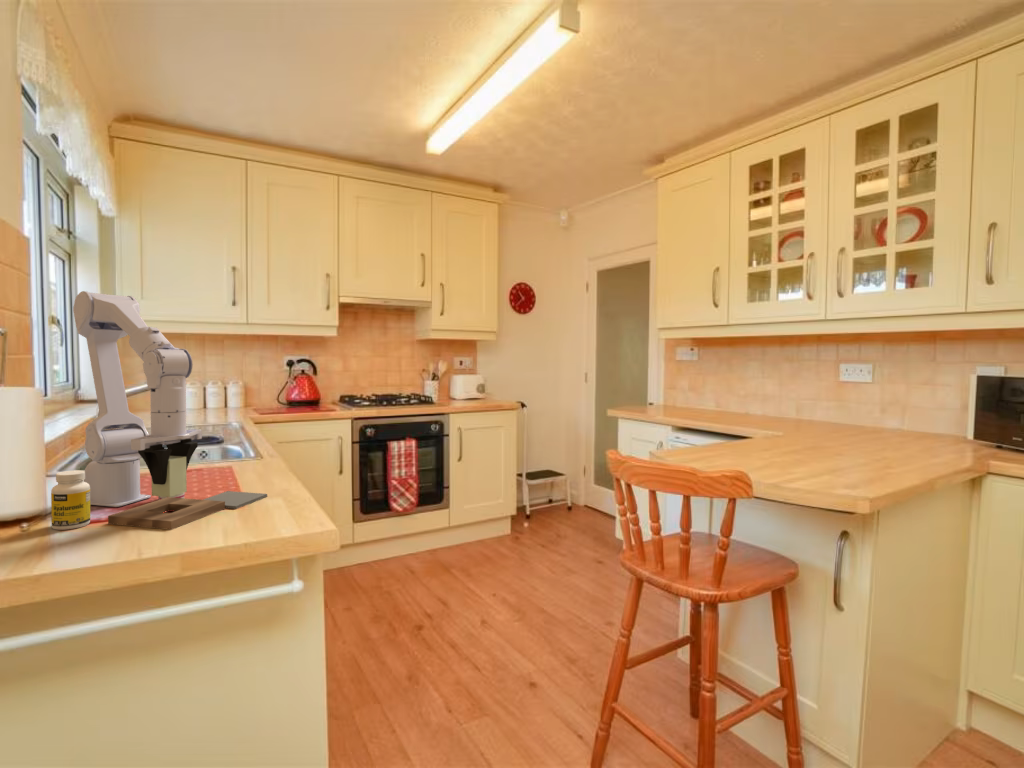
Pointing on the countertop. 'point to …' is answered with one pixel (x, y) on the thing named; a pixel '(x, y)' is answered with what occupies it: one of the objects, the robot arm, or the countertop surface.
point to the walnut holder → (155, 517)
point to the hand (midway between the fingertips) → (169, 481)
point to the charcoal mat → (237, 498)
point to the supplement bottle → (70, 501)
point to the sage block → (173, 478)
